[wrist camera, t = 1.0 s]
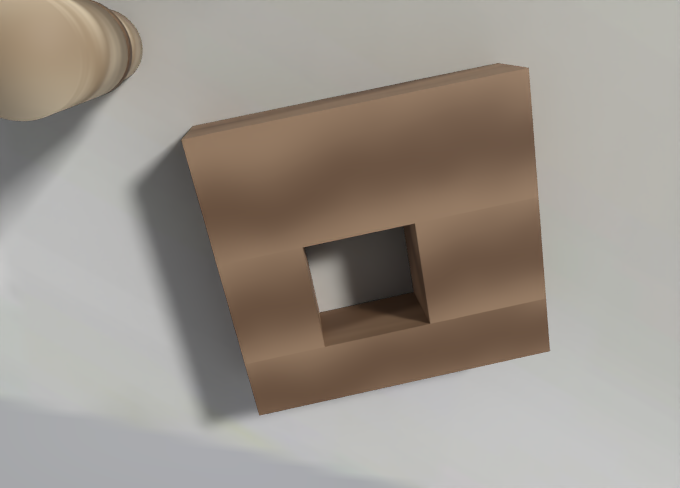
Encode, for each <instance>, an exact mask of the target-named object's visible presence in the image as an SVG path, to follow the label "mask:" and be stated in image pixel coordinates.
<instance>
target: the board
mask: <svg viewBox="0 0 680 488" xmlns="http://www.w3.org/2000/svg"><path fill="white" fill-rule="evenodd" d="M181 141H182V144H183V148H184V151H185V155H186V158H187V162H188V165H189V169H190V172H191V176H192V180H193V183H194V187H195V190H196V194H197V197H198V201H199V204H200V208H201V211H202V215H203V218H204V222H205V225H206V229H207V232H208V236H209V239H210V243H211V247H212V250H213V254H214V257H215V261H216V264H217V268H218V271H219V275H220V278H221V282H222V285H223V289H224V292H225V296H226V299H227V303H228V306H229V310H230V314H231V317H232V321H233V324H234V328H235V331H236V335H237V338H238V342H239V345H240V349H241V352H242V356H243V359H244V363H245V366H246V370H247V373H248V377H249V381H250V384H251V388H252V391H253V395H254V398H255V402H256V405H257V409H258V412H259V415H264V414H268V413H273V412H277V411H282V410H286V409H291V408H295V407H300V406H304V405H309V404H313V403H318V402H322V401H327V400H331V399H336V398H340V397H345V396H349V395H354V394H358V393H363V392H367V391H372V390H376V389H381V388H385V387H390V386H394V385H399V384H403V383H408V382H412V381H417V380H421V379H426V378H431V377H435V376H440V375H444V374H449V373H453V372H458V371H462V370H467V369H471V368H476V367H480V366H485V365H489V364H494V363H498V362H503V361H507V360H512V359H516V358H521V357H525V356H530V355H534V354H539V353H543V352H548V351H550V347H549V334H548V320H547V307H546V293H545V280H544V267H543V253H542V240H541V226H540V213H539V200H538V186H537V173H536V159H535V146H534V133H533V119H532V106H531V92H530V79H529V68H526V67H520V66H513V65H507V64H500V63H497V64H492V65H487V66H482V67H477V68H472V69H467V70H463V71H458V72H453V73H448V74H443V75H438V76H434V77H429V78H424V79H419V80H414V81H409V82H404V83H400V84H395V85H390V86H385V87H380V88H375V89H370V90H366V91H361V92H356V93H351V94H346V95H341V96H336V97H332V98H327V99H322V100H317V101H312V102H307V103H303V104H298V105H293V106H288V107H283V108H278V109H273V110H269V111H264V112H259V113H254V114H249V115H244V116H239V117H235V118H230V119H225V120H220V121H215V122H210V123H206V124H201V125H196V126H192V128H191V129H190V130H189V131H188V132H187V133H186V135H185V136H184V137H183V138H182V139H181ZM401 226H403V228H404V234H405V241H406V247H407V253H408V259H409V266H410V272H411V278H412V284H413V291H414V292H413V293H408V294H403V295H399V296H394V297H390V298H385V299H380V300H376V301H371V302H366V303H362V304H357V305H353V306H348V307H343V308H339V309H334V310H330V311H325V312H320V313H319V308H318V304H317V299H316V295H315V290H314V286H313V281H312V277H311V273H310V268H309V264H308V259H307V255H306V250H305V247H307V246H312V245H316V244H321V243H326V242H331V241H335V240H340V239H345V238H349V237H354V236H359V235H363V234H368V233H373V232H377V231H382V230H387V229H391V228H396V227H401Z"/></svg>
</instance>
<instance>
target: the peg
mask: <svg viewBox="0 0 680 488" xmlns="http://www.w3.org/2000/svg"><path fill="white" fill-rule="evenodd" d="M141 59H142V42H141V38H140V35H139V33H138V31H137V29H136V28H135V26H134V25H133V24H132V23H131V21H129V20H128V19H127V18H126V17H125V16H123V15H122V14H120V13H118V12H116V11H113V10H110V9H108V8H107V7H105V6H103V5H102V4H100V3H98V2H95V1H93V0H0V118H3V119H8V120H13V121H31V120H37V119H41V118H44V117H47V116H49V115H52V114H55V113H57V112H60V111H62V110H65V109H68V108H70V107H73V106H76V105H78V104H81V103H83V102H86V101H89V100H91V99H94V98H96V97H99V96H102V95H104V94H107V93H109V92H111V91H113V90H114V89H116V88H117V87H118V86H119V85H120V84H121V83H122V82H123V81H124V80H125V79H127V78H128V77H130V76H131V75H132V74H133V73H134V72H135V71H136V70H137V68H138V66H139V64H140V62H141Z"/></svg>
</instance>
